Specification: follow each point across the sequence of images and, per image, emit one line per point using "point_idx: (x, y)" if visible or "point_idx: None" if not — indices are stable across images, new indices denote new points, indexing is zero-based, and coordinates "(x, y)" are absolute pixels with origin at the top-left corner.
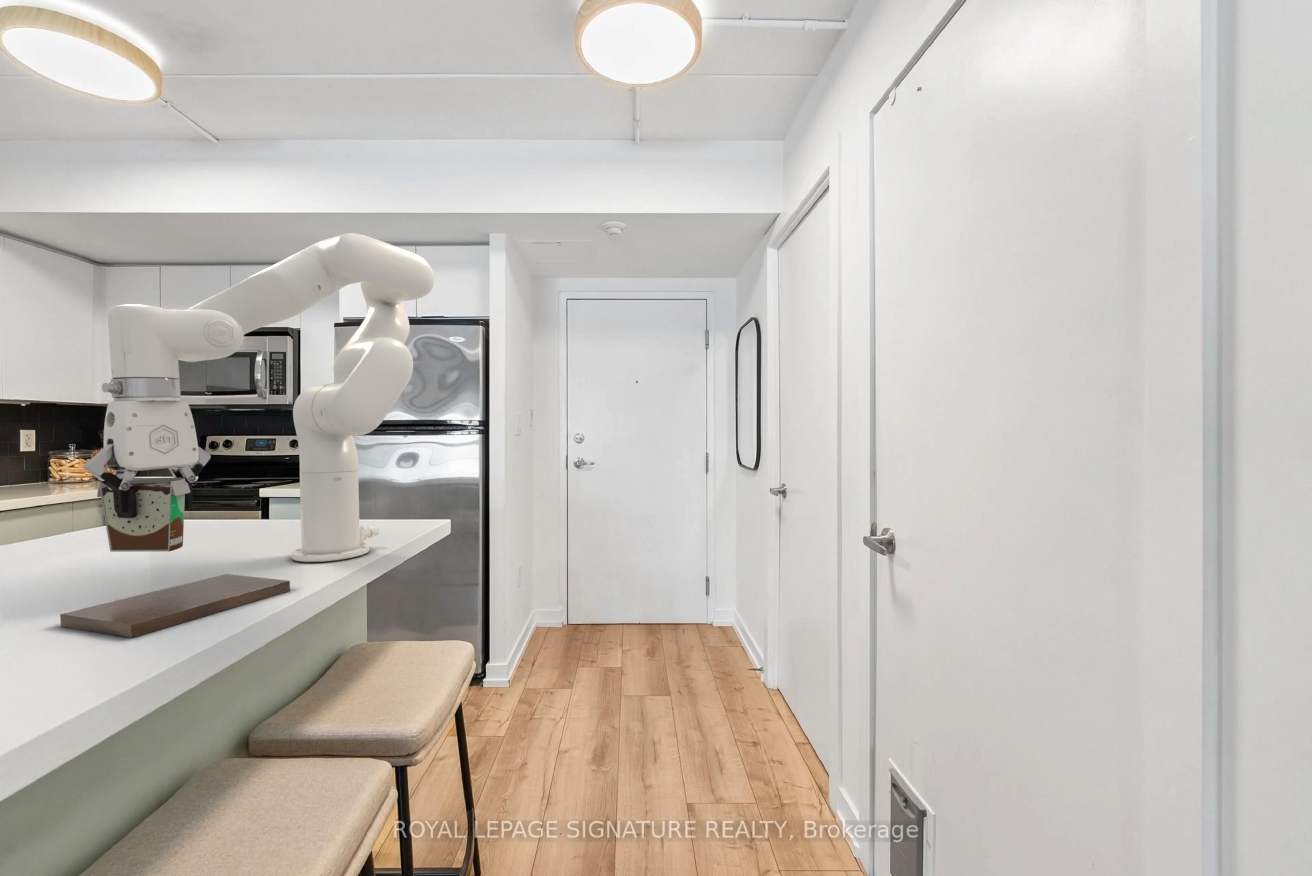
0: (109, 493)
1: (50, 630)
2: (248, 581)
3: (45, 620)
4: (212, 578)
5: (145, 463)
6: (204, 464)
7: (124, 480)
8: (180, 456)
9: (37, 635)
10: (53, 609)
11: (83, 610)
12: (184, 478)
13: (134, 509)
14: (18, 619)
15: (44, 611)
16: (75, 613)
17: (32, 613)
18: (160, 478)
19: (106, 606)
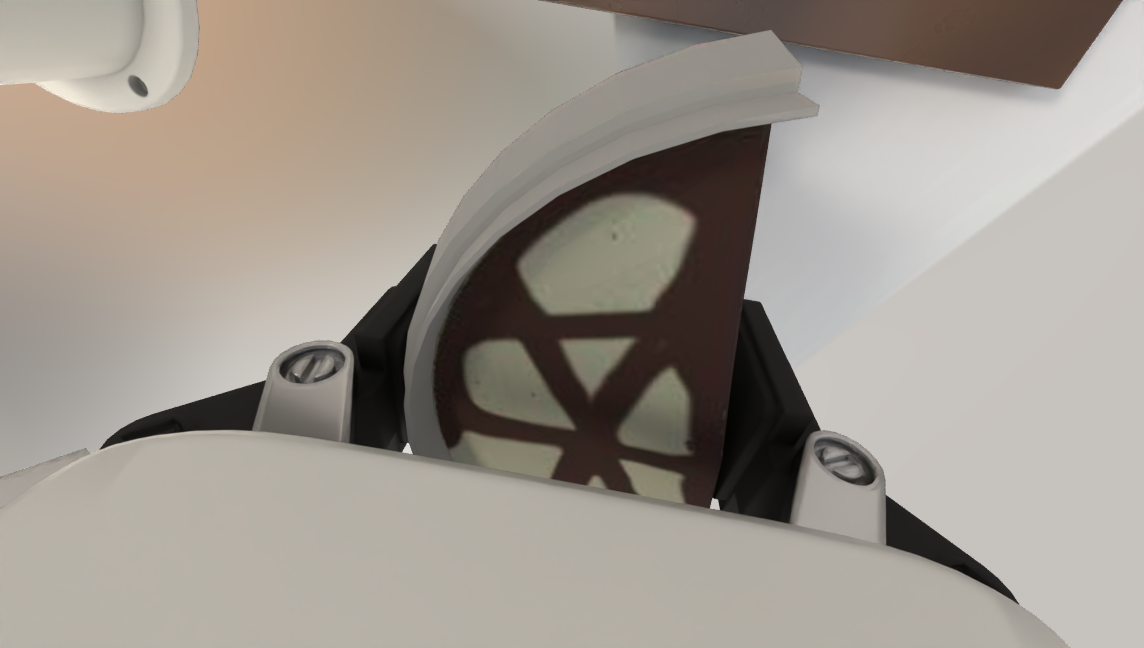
0: None
1: (1071, 74)
2: None
3: (927, 202)
4: None
5: (859, 611)
6: (61, 463)
7: (869, 507)
8: (285, 585)
9: (1129, 59)
10: (809, 281)
11: (1032, 45)
12: (450, 283)
13: (753, 320)
14: (896, 280)
15: (826, 286)
16: (1072, 35)
17: (841, 297)
18: None
19: (989, 8)
